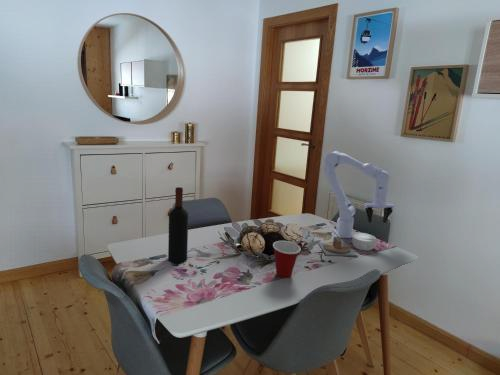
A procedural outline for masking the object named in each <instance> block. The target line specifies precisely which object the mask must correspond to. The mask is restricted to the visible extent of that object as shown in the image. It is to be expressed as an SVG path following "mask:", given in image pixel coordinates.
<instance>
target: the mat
mask: <svg viewBox="0 0 500 375" xmlns="http://www.w3.org/2000/svg"><path fill="white" fill-rule="evenodd" d="M325 243H326V242H317V244H318V246H319V248H321V250H322V251H323V253H324V254H325V256H327V257H328V256H330V257H331V256H333V257H334V256H335V257H339V256H340V257H357V254H356V252H354V250H353V249H352V248H351V247H350V246H349V245H348V244H347V242H341V243H342V244H345V245H347V246H348V247H349V248H350V251H349V252H348V253H344V254H338V253H333V252H329V251H327V250H325V249H324V247H323V246H324V244H325Z"/></svg>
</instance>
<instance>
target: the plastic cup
mask: <svg viewBox="0 0 500 375" xmlns="http://www.w3.org/2000/svg"><path fill="white" fill-rule="evenodd" d="M272 248H273V251H274V253H273V254H274V260H275V261H274V262H275V264H274V265H275V272H276V276H278V277H280V278H285V279H286V278H290V277H292V274H293V270H294V268H295V265H296V262H297V261H296V260H297V257H298V255H299V253H300V252H301V250H302V249H301V246H300V245H298V244H296V243H295V242H292V241H288V240H278V241H275V242H273V243H272Z"/></svg>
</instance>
